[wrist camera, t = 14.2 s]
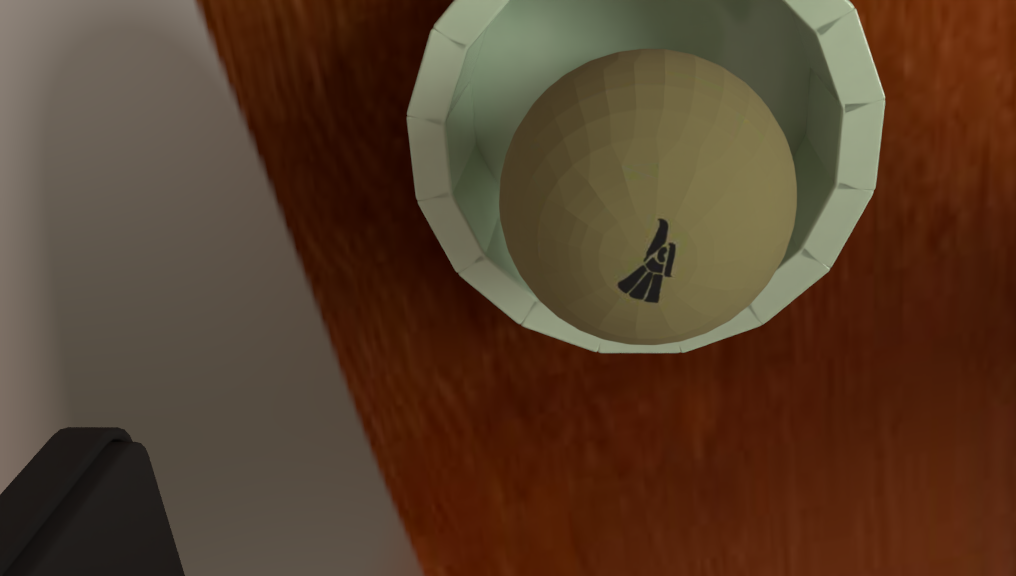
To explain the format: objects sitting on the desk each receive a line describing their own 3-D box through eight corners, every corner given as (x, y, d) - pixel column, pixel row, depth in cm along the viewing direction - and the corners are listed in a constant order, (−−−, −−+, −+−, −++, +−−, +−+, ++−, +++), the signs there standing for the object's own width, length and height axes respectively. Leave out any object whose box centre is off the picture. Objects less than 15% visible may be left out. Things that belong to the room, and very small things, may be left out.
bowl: (461, 277, 28) (433, 354, 24) (424, -99, 23) (381, -82, 19) (823, 273, 26) (857, 354, 22) (859, -127, 22) (911, -116, 18)
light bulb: (747, 196, 25) (813, 404, 16) (540, 204, 26) (494, 406, 17) (754, -20, 23) (835, 84, 14) (525, -4, 23) (462, 104, 14)
